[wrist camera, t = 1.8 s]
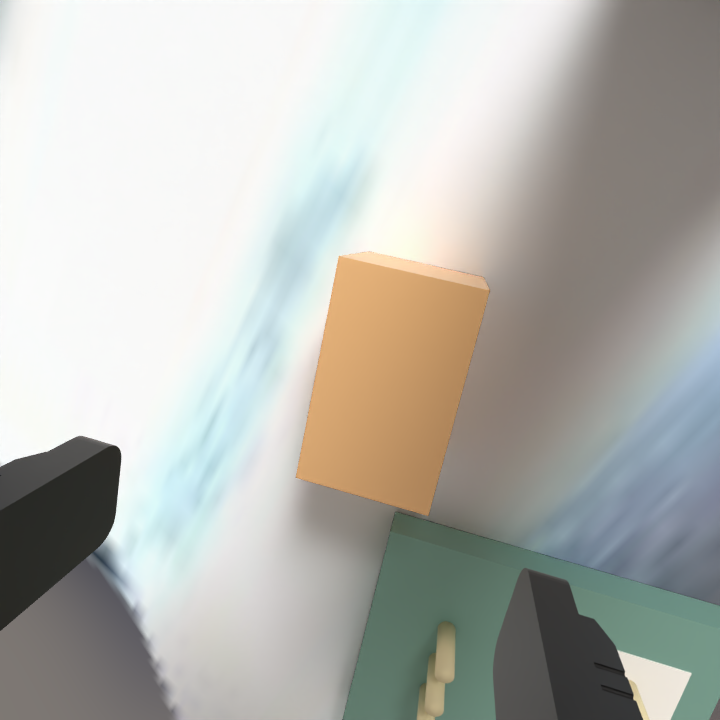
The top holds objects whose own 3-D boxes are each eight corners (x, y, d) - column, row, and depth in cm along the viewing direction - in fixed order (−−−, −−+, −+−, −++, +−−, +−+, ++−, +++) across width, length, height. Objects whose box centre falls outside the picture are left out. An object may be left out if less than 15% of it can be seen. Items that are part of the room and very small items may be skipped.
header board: (728, 608, 26) (786, 690, 22) (638, 800, 30) (672, 908, 25) (395, 511, 29) (381, 566, 24) (347, 699, 32) (326, 781, 27)
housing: (483, 277, 25) (489, 290, 19) (436, 452, 27) (428, 516, 21) (369, 251, 26) (338, 255, 20) (333, 424, 28) (295, 477, 22)
